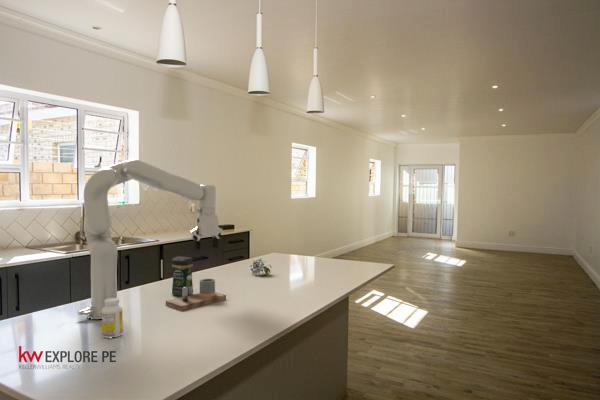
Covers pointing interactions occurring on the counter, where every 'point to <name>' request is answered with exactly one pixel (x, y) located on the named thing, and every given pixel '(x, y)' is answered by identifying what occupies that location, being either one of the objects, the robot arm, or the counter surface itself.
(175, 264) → the coffee jar
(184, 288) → the pins
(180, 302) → the pin board
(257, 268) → the passion flower
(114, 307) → the supplement bottle
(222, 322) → the counter surface
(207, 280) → the sleeve
